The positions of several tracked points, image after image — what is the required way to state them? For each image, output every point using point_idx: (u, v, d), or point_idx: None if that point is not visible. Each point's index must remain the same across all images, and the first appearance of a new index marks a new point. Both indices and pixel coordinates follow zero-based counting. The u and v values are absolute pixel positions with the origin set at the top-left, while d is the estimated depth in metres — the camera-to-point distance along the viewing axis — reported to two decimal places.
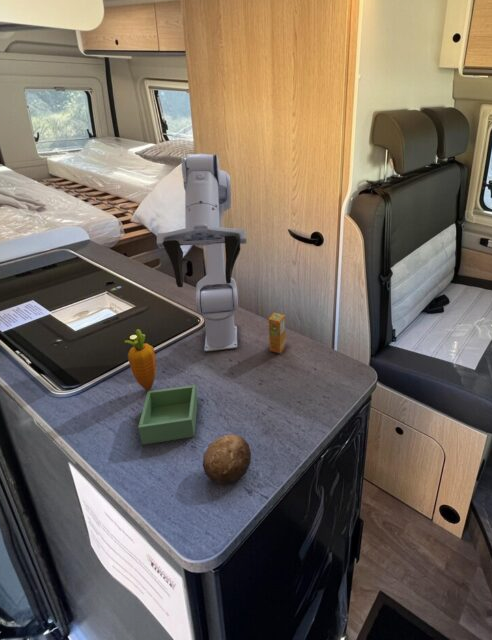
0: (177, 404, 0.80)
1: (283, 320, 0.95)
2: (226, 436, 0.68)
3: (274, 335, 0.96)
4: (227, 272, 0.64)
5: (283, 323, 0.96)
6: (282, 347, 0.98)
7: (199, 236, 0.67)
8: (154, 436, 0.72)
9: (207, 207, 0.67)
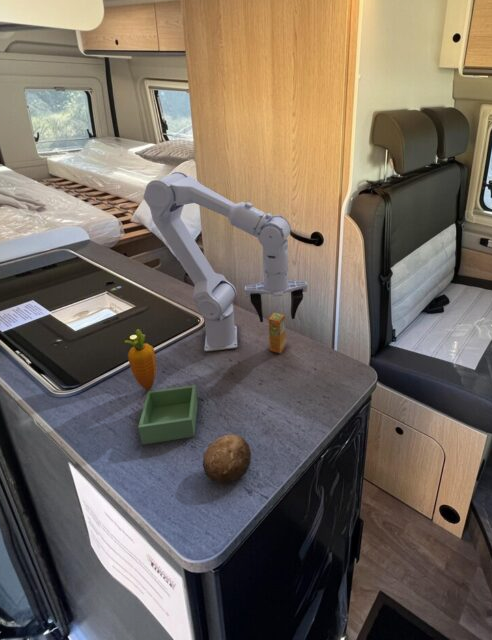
0: (177, 404, 0.80)
1: (283, 320, 0.95)
2: (226, 436, 0.68)
3: (274, 335, 0.96)
4: (293, 315, 0.94)
5: (283, 323, 0.96)
6: (282, 347, 0.98)
7: None
8: (154, 436, 0.72)
9: (282, 276, 0.88)
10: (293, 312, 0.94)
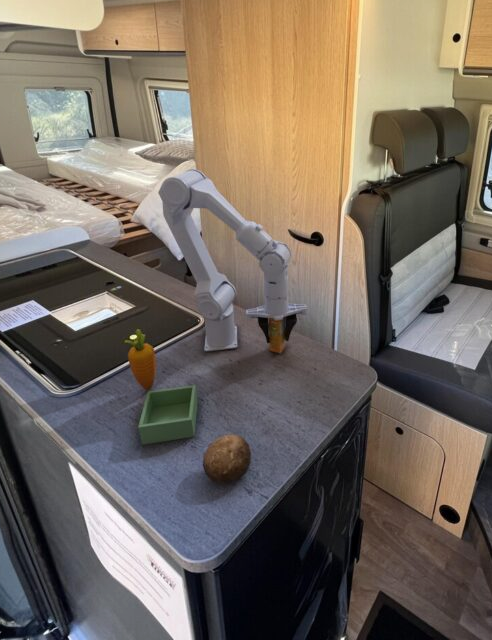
0: (177, 404, 0.80)
1: (283, 320, 0.95)
2: (226, 436, 0.68)
3: (274, 335, 0.96)
4: (287, 338, 0.97)
5: (283, 323, 0.96)
6: (282, 347, 0.98)
7: None
8: (154, 436, 0.72)
9: (282, 300, 0.91)
10: (287, 335, 0.96)
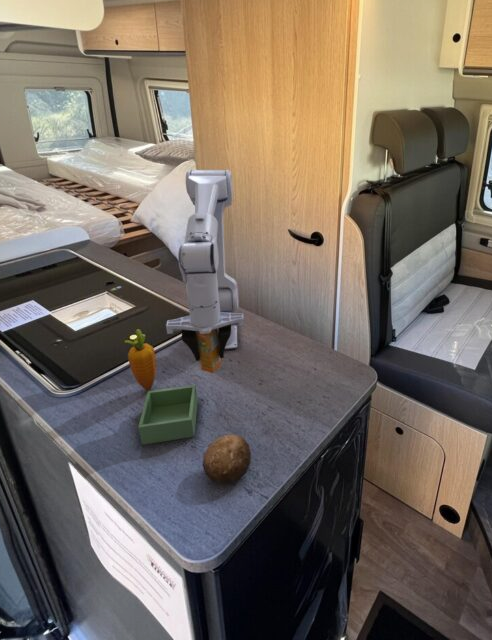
0: (177, 404, 0.80)
1: (215, 333, 0.78)
2: (226, 436, 0.68)
3: (204, 351, 0.78)
4: (221, 354, 0.79)
5: (215, 337, 0.78)
6: (216, 365, 0.80)
7: None
8: (154, 436, 0.72)
9: (209, 309, 0.73)
10: (220, 351, 0.79)
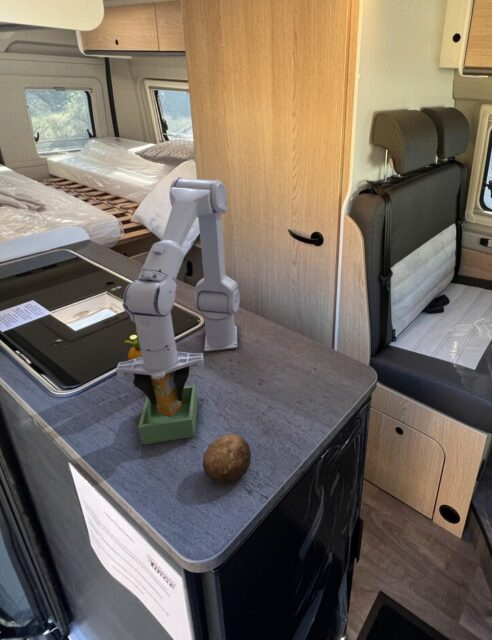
0: None
1: (171, 375, 0.72)
2: (226, 436, 0.68)
3: (160, 395, 0.72)
4: (179, 397, 0.74)
5: (172, 379, 0.72)
6: (174, 409, 0.75)
7: None
8: (154, 436, 0.72)
9: (162, 352, 0.67)
10: (178, 393, 0.73)
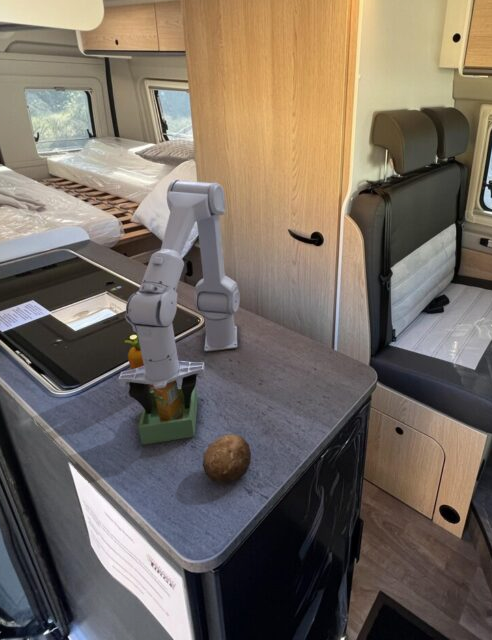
0: None
1: (173, 386, 0.73)
2: (226, 436, 0.68)
3: (162, 405, 0.73)
4: (186, 405, 0.75)
5: (174, 390, 0.73)
6: (176, 419, 0.76)
7: None
8: (154, 436, 0.72)
9: (164, 362, 0.68)
10: (185, 401, 0.74)
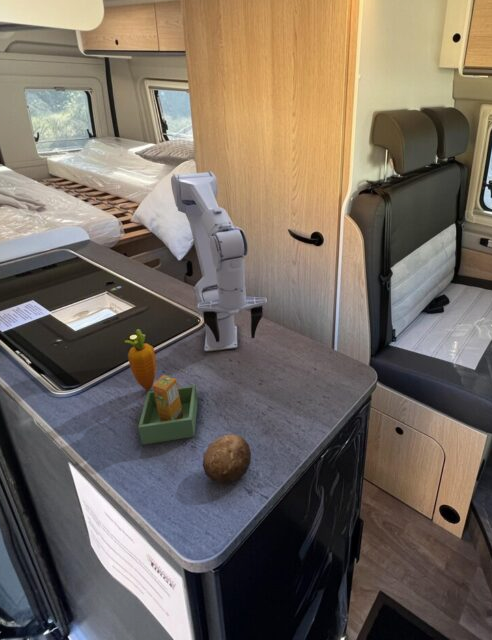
0: None
1: (173, 386, 0.73)
2: (226, 436, 0.68)
3: (162, 405, 0.73)
4: (252, 334, 0.87)
5: (174, 390, 0.73)
6: (176, 419, 0.76)
7: None
8: (154, 436, 0.72)
9: (237, 293, 0.80)
10: (252, 331, 0.86)
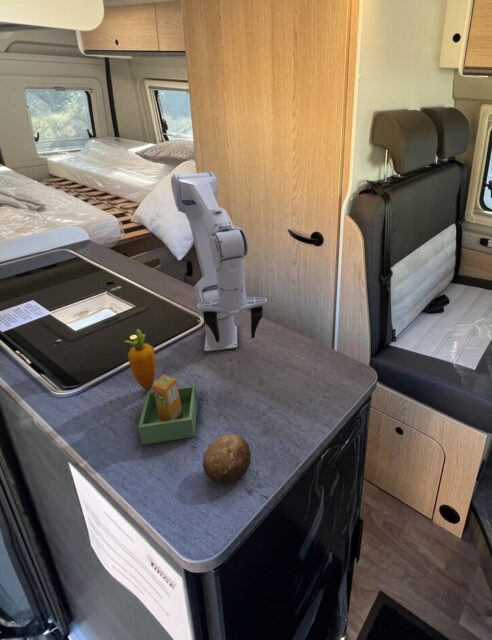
0: None
1: (173, 386, 0.73)
2: (226, 436, 0.68)
3: (162, 405, 0.73)
4: (252, 334, 0.87)
5: (174, 390, 0.73)
6: (176, 419, 0.76)
7: None
8: (154, 436, 0.72)
9: (237, 293, 0.80)
10: (252, 331, 0.86)
